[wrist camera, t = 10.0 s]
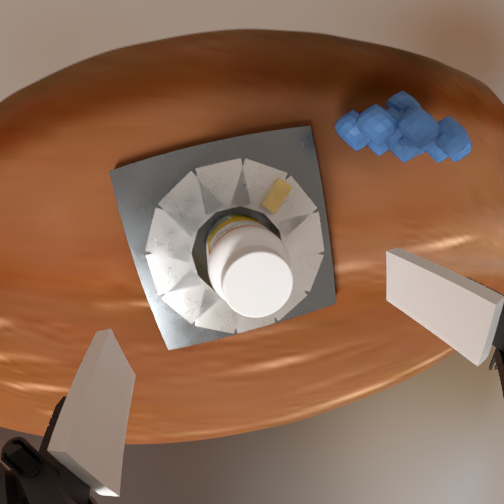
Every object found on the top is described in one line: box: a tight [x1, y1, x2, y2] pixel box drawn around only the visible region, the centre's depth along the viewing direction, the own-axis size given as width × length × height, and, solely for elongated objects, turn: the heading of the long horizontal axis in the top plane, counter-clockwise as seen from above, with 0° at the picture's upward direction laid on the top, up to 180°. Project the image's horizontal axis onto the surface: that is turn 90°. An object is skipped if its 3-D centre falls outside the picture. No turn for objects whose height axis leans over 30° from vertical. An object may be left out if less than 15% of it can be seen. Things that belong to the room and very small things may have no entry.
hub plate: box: [110, 126, 336, 350], centre depth 23 cm, size 18×18×5 cm
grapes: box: [335, 91, 472, 163], centre depth 19 cm, size 12×7×12 cm, turn 88°
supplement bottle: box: [206, 214, 293, 318], centre depth 20 cm, size 5×5×10 cm
